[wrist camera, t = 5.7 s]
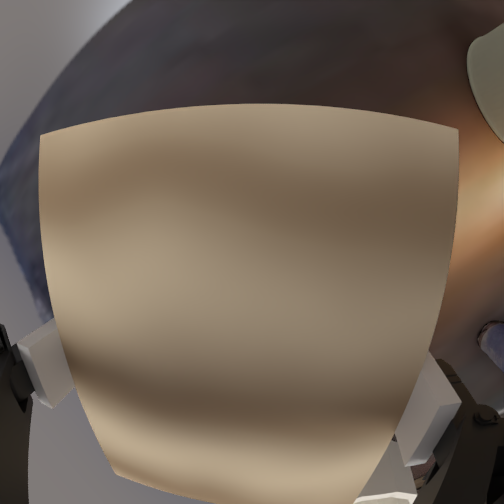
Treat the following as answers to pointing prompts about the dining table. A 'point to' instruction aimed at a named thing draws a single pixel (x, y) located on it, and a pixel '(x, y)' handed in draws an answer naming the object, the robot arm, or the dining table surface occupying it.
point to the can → (489, 77)
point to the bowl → (389, 481)
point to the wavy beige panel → (248, 289)
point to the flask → (493, 342)
